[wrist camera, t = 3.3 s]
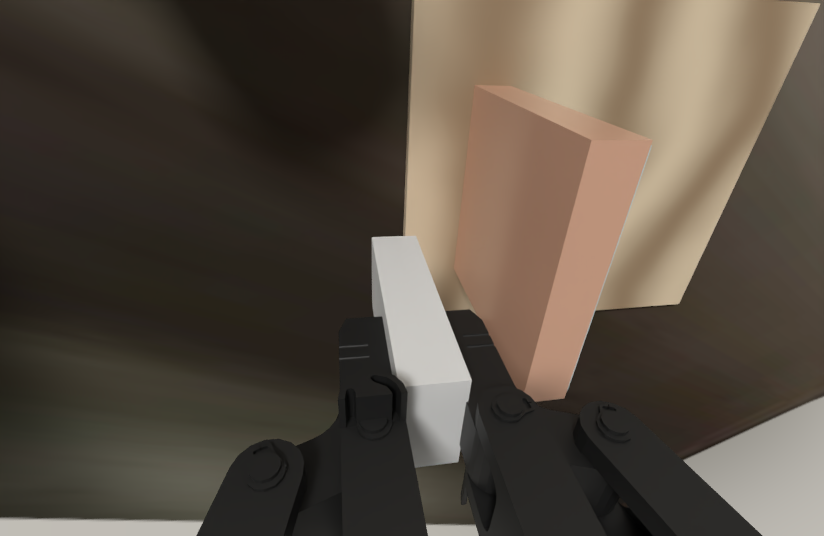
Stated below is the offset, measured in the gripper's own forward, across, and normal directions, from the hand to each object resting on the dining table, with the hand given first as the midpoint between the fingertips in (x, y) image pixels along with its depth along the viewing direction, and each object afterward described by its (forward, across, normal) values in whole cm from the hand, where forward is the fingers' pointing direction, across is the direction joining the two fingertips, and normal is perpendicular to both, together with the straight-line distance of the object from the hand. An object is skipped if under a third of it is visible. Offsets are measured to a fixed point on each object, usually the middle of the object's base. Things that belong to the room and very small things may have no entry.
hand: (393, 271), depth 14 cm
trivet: (+9, +12, 0) cm, 14 cm away
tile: (+8, +6, 0) cm, 10 cm away
